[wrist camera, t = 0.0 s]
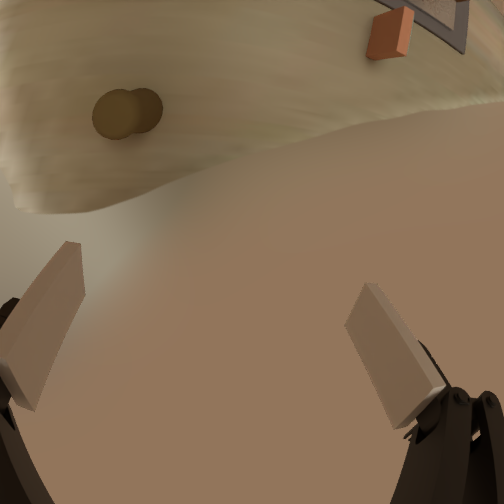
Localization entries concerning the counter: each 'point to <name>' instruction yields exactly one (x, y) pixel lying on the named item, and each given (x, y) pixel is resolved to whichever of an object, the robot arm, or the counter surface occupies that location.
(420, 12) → the mat
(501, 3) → the milk
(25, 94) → the counter surface
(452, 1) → the trowel
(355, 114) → the counter surface
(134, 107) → the cork
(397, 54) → the tile
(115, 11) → the counter surface
